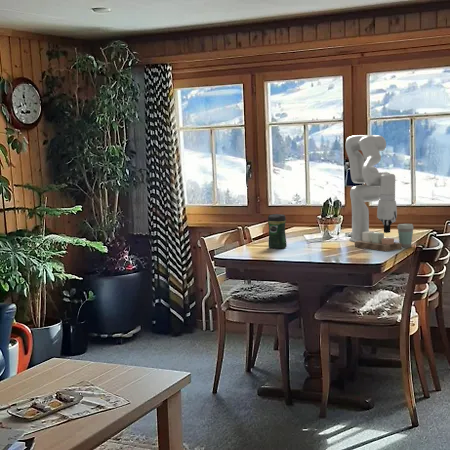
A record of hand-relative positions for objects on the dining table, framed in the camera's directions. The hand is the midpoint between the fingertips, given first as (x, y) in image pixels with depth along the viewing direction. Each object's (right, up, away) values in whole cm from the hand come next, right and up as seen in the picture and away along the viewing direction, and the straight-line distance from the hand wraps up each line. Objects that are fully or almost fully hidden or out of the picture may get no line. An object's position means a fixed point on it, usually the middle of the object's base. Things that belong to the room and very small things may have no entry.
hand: (387, 232), depth 351 cm
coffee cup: (+12, -8, +7) cm, 16 cm away
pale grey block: (-7, -5, +11) cm, 14 cm away
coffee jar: (-56, -9, +17) cm, 59 cm away
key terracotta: (0, -8, 0) cm, 8 cm away
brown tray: (-3, -8, +6) cm, 11 cm away
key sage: (-3, -5, +6) cm, 9 cm away
